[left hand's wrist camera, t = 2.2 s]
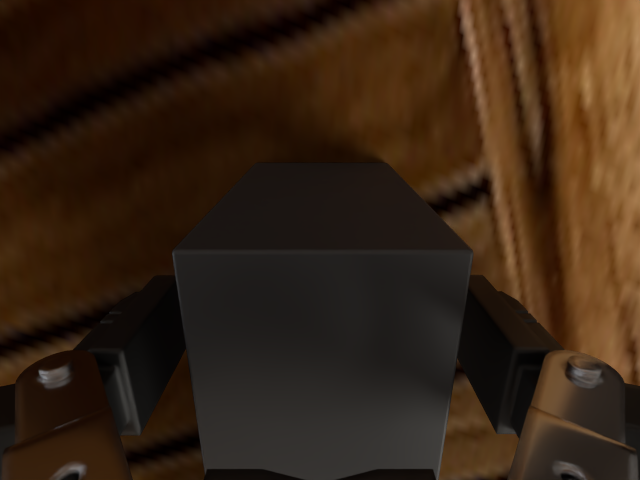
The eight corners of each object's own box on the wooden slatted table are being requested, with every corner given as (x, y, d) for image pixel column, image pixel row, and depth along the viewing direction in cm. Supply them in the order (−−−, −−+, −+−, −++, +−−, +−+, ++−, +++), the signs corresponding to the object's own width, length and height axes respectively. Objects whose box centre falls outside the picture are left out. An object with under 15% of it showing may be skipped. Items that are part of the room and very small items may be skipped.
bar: (255, 162, 16) (168, 250, 7) (387, 162, 16) (476, 250, 7) (277, 534, 24) (251, 795, 15) (364, 535, 24) (390, 795, 15)
